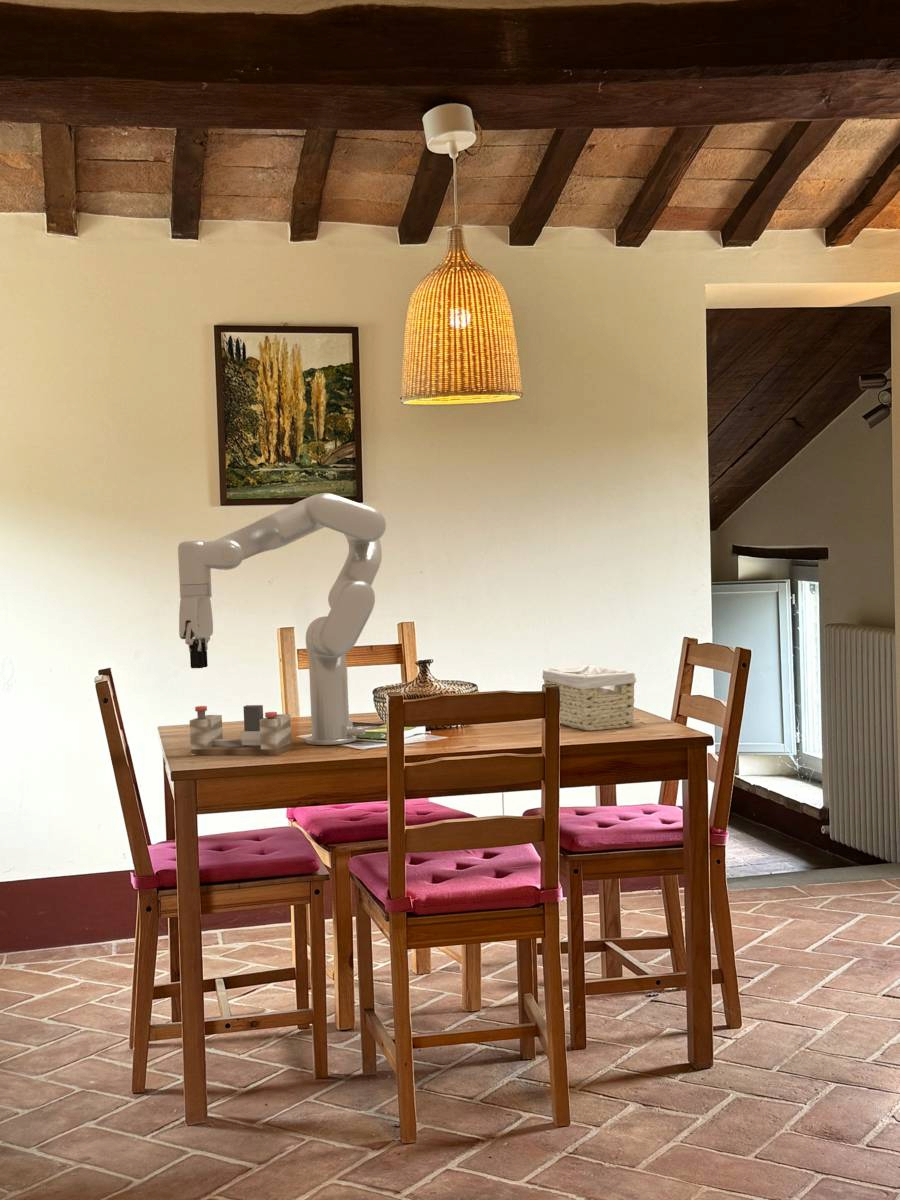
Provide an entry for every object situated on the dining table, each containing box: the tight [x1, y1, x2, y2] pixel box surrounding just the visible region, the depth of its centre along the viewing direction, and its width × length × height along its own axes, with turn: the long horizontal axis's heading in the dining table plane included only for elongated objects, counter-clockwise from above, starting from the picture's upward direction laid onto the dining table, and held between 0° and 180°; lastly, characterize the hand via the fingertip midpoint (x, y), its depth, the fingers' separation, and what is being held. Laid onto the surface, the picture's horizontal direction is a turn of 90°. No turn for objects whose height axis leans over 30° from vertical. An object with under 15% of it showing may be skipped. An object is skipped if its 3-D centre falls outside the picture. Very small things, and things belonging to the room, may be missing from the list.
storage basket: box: [542, 664, 637, 732], centre depth 340 cm, size 24×16×15 cm
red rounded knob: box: [194, 705, 208, 720], centre depth 314 cm, size 3×3×4 cm
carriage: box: [240, 704, 264, 745], centre depth 314 cm, size 5×5×9 cm
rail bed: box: [189, 713, 292, 756], centre depth 315 cm, size 22×10×8 cm, turn 77°
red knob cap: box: [264, 711, 278, 719], centre depth 310 cm, size 3×3×4 cm
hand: (199, 667), depth 314 cm, fingers closed
